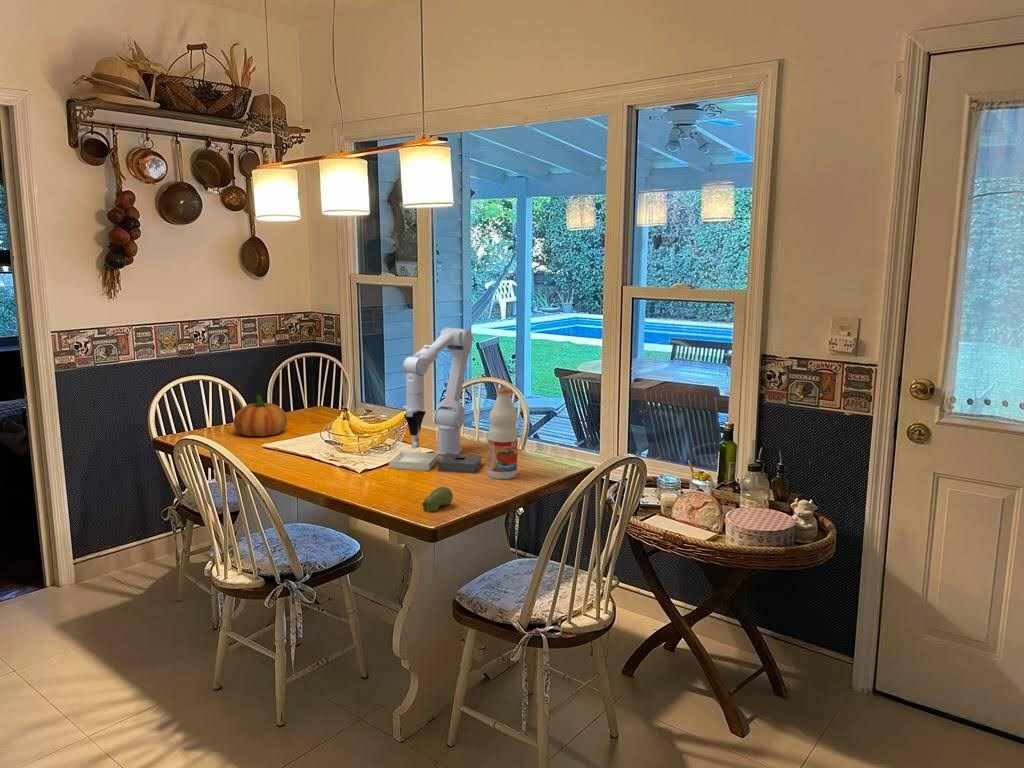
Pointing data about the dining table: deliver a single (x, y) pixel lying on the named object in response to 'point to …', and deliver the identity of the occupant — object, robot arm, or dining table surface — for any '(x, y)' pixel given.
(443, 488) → the pear
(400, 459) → the tray
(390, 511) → the dining table surface
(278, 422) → the pumpkin
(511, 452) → the fruit juice
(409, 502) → the dining table surface
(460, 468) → the block
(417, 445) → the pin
